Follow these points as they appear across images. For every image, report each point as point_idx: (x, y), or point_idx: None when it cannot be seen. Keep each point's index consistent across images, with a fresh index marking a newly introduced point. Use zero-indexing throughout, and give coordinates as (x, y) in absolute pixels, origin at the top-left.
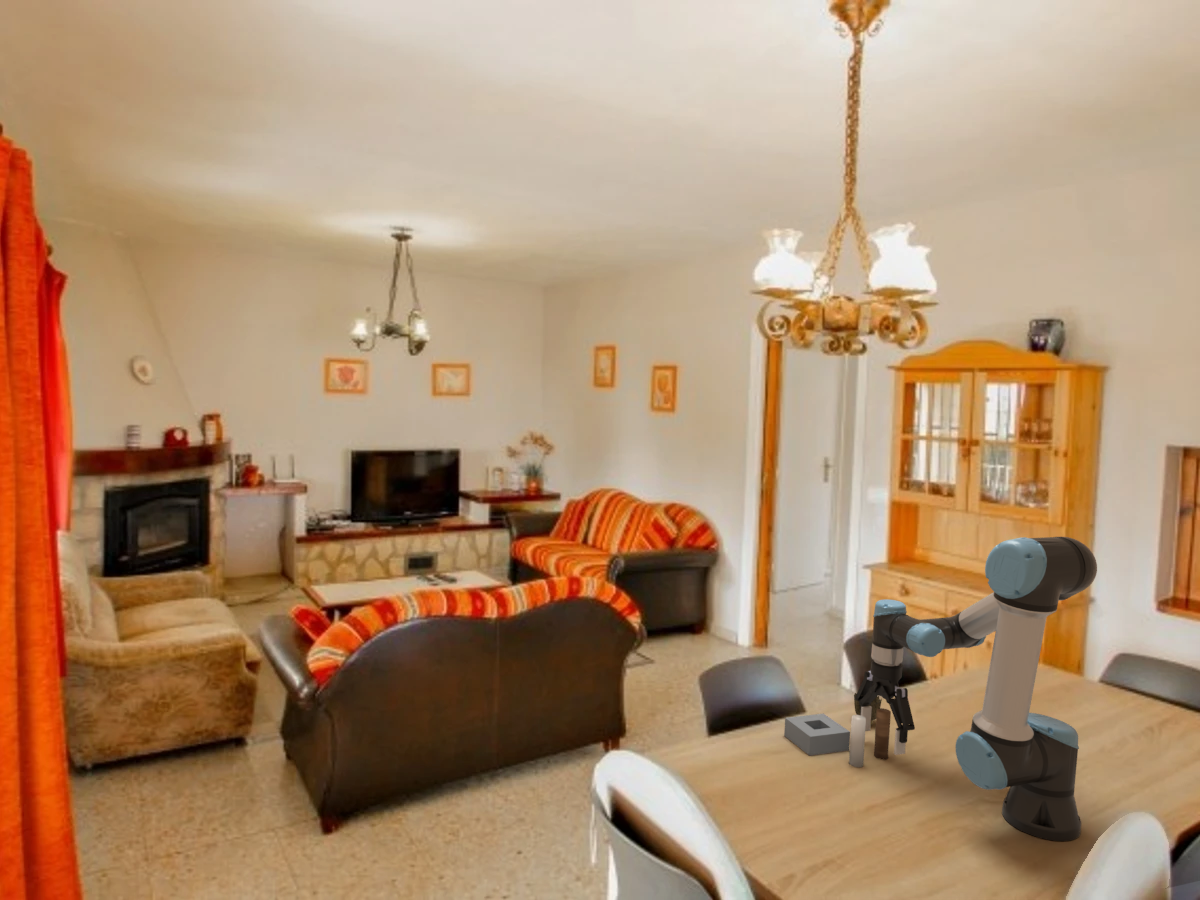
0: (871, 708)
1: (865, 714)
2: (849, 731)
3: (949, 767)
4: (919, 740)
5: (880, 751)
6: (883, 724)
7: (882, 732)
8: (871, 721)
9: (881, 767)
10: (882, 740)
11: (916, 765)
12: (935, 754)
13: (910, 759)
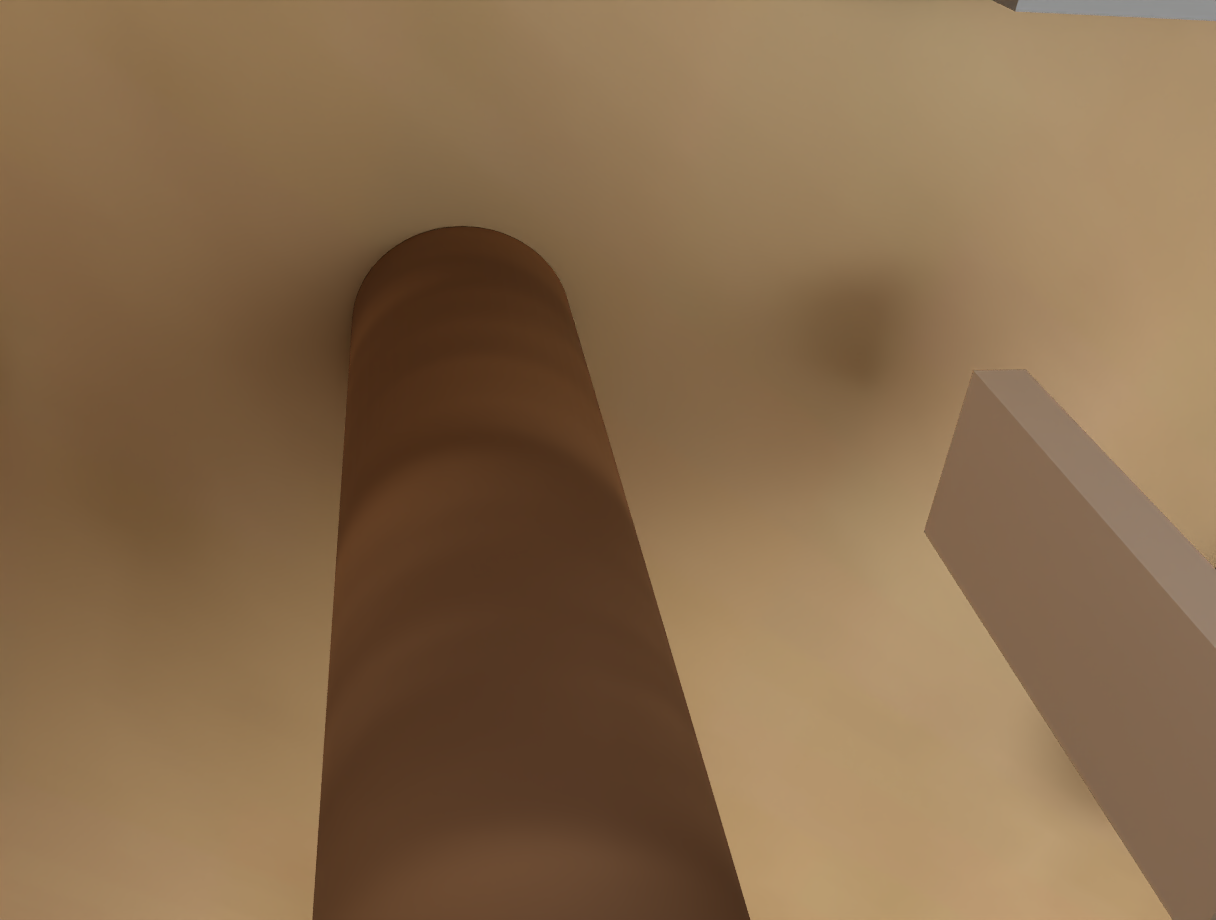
0: (1167, 908)
1: (1149, 675)
2: (1037, 3)
3: (6, 890)
4: None
5: (379, 319)
6: (353, 753)
7: (358, 572)
8: None
9: (61, 68)
10: (363, 460)
11: (91, 617)
12: None
13: (280, 639)
